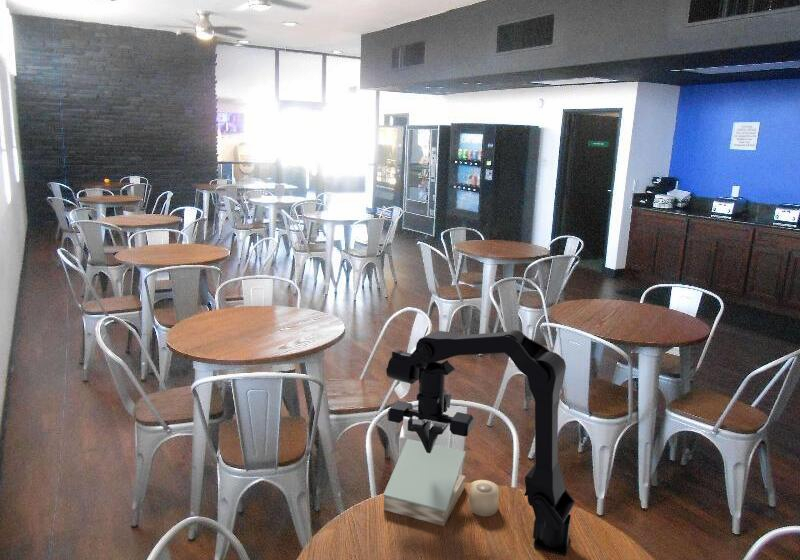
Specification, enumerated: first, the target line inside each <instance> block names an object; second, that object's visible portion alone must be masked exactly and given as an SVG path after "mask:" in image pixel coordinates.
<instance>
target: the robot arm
mask: <svg viewBox="0 0 800 560" xmlns="http://www.w3.org/2000/svg"><path fill="white" fill-rule="evenodd" d="M415 345H416V346H415V349H414V351H413V352H412V353H409V352H407V351H403V350H402V349H395V350H393V351H392V352H391V357H390V358H389V360H388V362H387V366H386V368H385V369H386V370H385V372H386V376H387V378H388V379H391V380H395V381H398V382H402V383H407V384H410V385H413V384H414V383H416V381H418V392H417V395H416V400H418V401H417V409H413V407H414V406H413V404H412V402H408V401H407V402H406V401H402V400H397V401H395V402H394V403H393V404H392V405H391V407H389V408H388V411H387V421H388V422H392V423H398V424H400V423H401V422H403V420H404V417H409V418H412V419H413V424H412V425H411V428H412V429H414V430H415V431H416V433H417V434H418V436H419V438H420V439H421V441H422V444H423V446H424V448H425V450H426V452H427V453H431V451H432V449H433V446H434V445H436V441H437V440H438V436H440V435H443V434H444V432H445V431H446V429H447V428H448V427H449V432H450V433H451V434H452V435H456V436H460V437H468V436H469V434H470V433H471V431H472V429H473V428H474V426H475V425H474V424H475V418H474V416H473V415H472V414H469V413H464V412H459V411H457V412H456V413H455V414H454V415H453V416H449V414H444V413H446V412H448V409H450V407H451V399H452V394H451V393H447V391H446V389H445V387H446V386H445V384H446V376H448V375H450V374H451V373H453V372H454V371H455V367H454V366H453V365H452V364H450V362H449V360H447V359H449V358H453V357H456V356H457V357H458V356H470V355H474V356H475V355H492V354H496V355H497V354H505V355H507V356H508V357H510V359H511V361H512V363H513V364H514V365H515V367H516V368H517V369H518V371H520V372H521V373H522V374H524V376H525V377H526V378H527V383H528V388H529V391H530V394H531V396H532V398H533V400H534V448H535V449H534V465H533V466H532V467H531V468H530V470H529V471H528V472H527V473H526V475H525V476H524V484H525V493H524V495H523V496H524V497H527V503H528V505H529V506H531V507H532V509H533V510H532V511H533V514H534V522H533V530H532V531H533V533H532V534H533V535H532V539H534V542H533V547H534V548H536V549H539V550H544V551H548V552H551V553H555V554H559V555H562V556H566V555H567V553H568V549H569V543H570V537H571V536H570V527H571V519H572V517H571V515H572V514H570V512H571V511H572V509H573V507H574V505H575V503H576V501H575V500H574V498H573V497H572V495H570V493H569V492H568V490H567V489H566V486H565V481H564V475H563V472H562V470H561V468H560V466H559V462H558V461H559V460H558V457H559V455H558V454H559V453H558V448H559V446H558V444H559V443H558V441H559V440H558V439H559V436H558V435H559V434H558V433H559V431H558V430H559V417H558V416H559V396H560V393H561V390H562V387H563V384H564V380H565V374H566V368H567V366H566V361H565V359H564V358H563V357H562V356H561V355H560V354H558V353H556V352H554V351H551V350H550V349H548V348H547V347H546V346H545V345H543V344H541V343H539V342H538V341H535V340H534V339H531V338H529V337H528V336H526V335H525V333H523V332H521V331H520V330H517V329H516V330H515V329H513V330H509V331H501V332H486V333H485V332H484V333H471V334H456V333H453V332H451V331H445V330H444V331H443V330H435V331H432V332H430V333H428V334H426V335H424V336H423V337H421V338H419V339H418V340H417V342H416V343H415ZM443 360H445V361H443ZM441 361H442V362H441ZM431 423H432V426H431Z"/></svg>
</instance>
